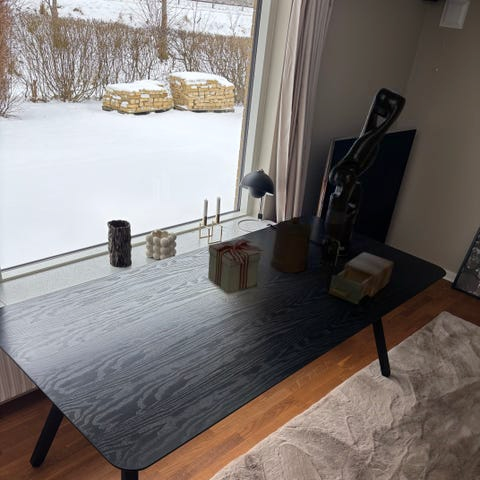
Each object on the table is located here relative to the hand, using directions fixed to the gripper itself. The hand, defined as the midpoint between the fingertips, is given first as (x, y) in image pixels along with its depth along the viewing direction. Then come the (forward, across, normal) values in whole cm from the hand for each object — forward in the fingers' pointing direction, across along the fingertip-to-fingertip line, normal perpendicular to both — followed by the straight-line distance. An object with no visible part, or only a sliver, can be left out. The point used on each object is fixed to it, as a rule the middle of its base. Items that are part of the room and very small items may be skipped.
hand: (328, 259), depth 199 cm
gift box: (+9, -30, +24) cm, 40 cm away
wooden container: (+10, 0, +18) cm, 21 cm away
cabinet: (+9, +9, -15) cm, 19 cm away
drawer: (+8, -6, -15) cm, 18 cm away
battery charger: (+3, 0, 0) cm, 3 cm away
